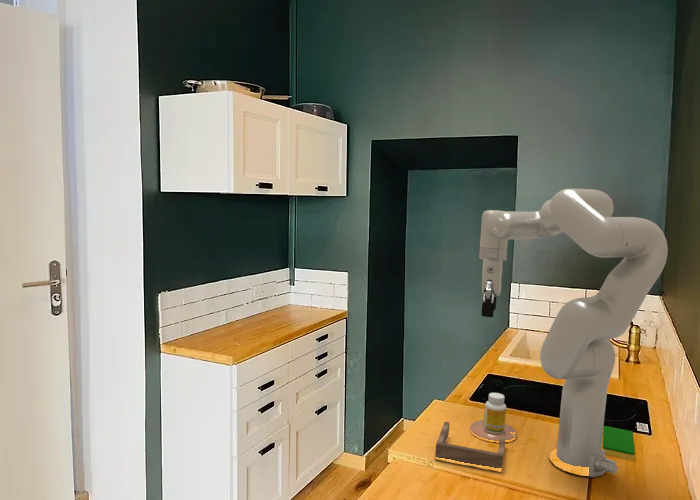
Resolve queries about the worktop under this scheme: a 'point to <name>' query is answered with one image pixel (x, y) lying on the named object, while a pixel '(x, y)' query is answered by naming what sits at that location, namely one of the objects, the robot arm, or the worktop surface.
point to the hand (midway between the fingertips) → (488, 312)
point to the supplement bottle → (495, 414)
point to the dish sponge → (618, 443)
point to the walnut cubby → (469, 451)
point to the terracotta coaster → (479, 431)
